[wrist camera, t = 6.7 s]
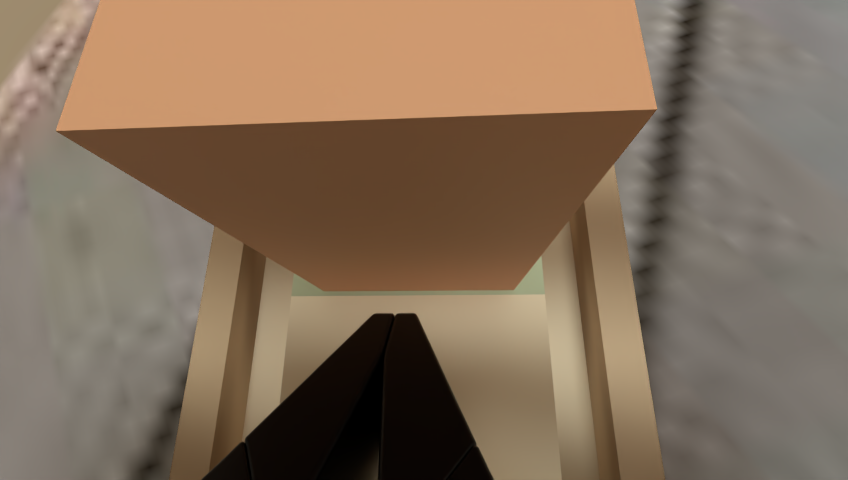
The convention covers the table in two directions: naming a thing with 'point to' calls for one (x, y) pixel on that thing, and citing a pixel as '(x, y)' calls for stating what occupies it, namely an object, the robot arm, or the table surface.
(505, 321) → the wooden compartment tray
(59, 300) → the table surface
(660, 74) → the table surface
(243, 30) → the terracotta block
